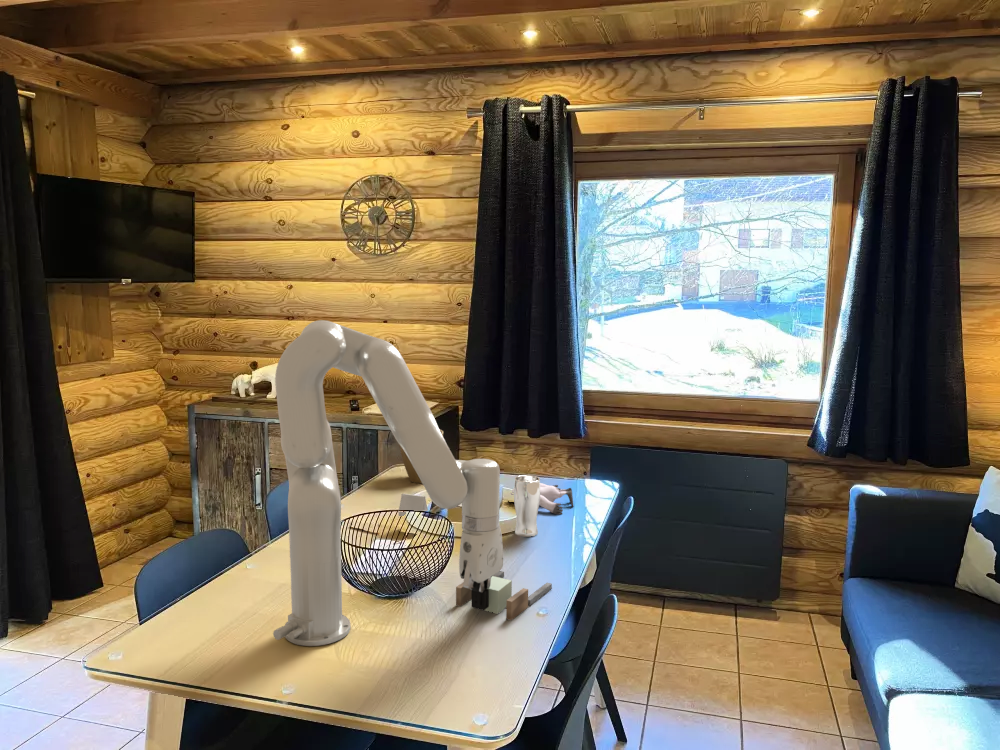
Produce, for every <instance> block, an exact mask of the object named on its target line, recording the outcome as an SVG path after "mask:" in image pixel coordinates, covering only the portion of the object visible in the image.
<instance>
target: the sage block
mask: <svg viewBox="0 0 1000 750" xmlns="http://www.w3.org/2000/svg"><path fill="white" fill-rule="evenodd" d="M512 588H513V581H512V580H511V579H506V578H504V577H503V578H499V577H494V576H492V577H491V584H490V588H489V607H488V608H486V609H485V610H483V611H485V612H488V611H489V613H492V612H493V614H497V615H498V613H499V612H500V613H501V612H503V610H504V608H505V607H506V600H508V599H509V598H510V597H512V596H513V595H512V594H513V593H512V591H513V590H512ZM487 589H488V588H487ZM505 609H506V608H505ZM500 613H499V614H500Z"/></svg>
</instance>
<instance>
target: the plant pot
mask: <svg viewBox="0 0 1000 750" xmlns="http://www.w3.org/2000/svg"><path fill="white" fill-rule="evenodd" d="M439 430H440V432H441V434H442V436H443V437H444V430H442V429H440V428H439ZM398 445H399V450H400V456H401V458H402V462H403V465H404V469H405V471H406V474H407V477H408V479H409V481H410V482H412V483H416V484H423V483H422V482H421V480H420V478H419V476H418V474H417V472H416V471H415V469H414V467H413V465H412V463H411V462H410V460H409V458H408V456H407V455H406V453H405V452H404V450H403V449H402V447H401V446H400V444H399V443H398Z"/></svg>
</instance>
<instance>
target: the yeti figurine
mask: <svg viewBox="0 0 1000 750" xmlns="http://www.w3.org/2000/svg"><path fill="white" fill-rule="evenodd" d="M511 491H512V493H514V492H513V491H514V488H512V490H511ZM509 493H510V492H509ZM512 493H510V494H511V495H514V494H512ZM564 495H566V496H567V497H568V500H569V503H570V505H571V507H572V508H574V497H573V490H572V487H569V488H567V489H566V488H565V489H564V488H563V489H562V488H559V484H553V485H547V484H545V483H541V482H540V503H539V507H541V508H543V509H546V510H547V511H548V512H550V513H551V514H553V515H563V511H564V510H563V507H562V506H561V505H562V504H561V503H559V502H555V500H558V499H560V498H562V497H563V496H564Z"/></svg>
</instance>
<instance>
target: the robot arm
mask: <svg viewBox="0 0 1000 750" xmlns="http://www.w3.org/2000/svg"><path fill="white" fill-rule="evenodd" d="M332 368H334V369H337V370H340V371H343V372H347V373H349V374H352V375H355V376H357V377H358V376H359V377H361V378H362V379H363V382H364V384H365V385H366V388H367V389H368V391H369V394H370V395H371V396H372V398H373V401H374V402H375V404H376V405H377V407H378V409H379V411H380V413H381V415H382V417H383V418H384V420H385V422H386V424H387V425H388V427H389V430H390V431H391V433H392V435H393V436H394V439H395V440H396V442H397V443H398V445H399V444H400V446H401V447H402V449H403V450H404V452H405V453H406V455H407V456H408V458H409V460H410V462H411V463H412V465H413V467H414V469H415V471H416V472H417V474H418V476H419V478H420V480H421V482H422V483H421V484H422V486H423V487H424V489H425V491H426V493H427V494H428V497H429V499H430V500H431V501H432V503H433V504H434V505H435V506H437V507H439V508H441V509H445V510H450V509H451V510H452V509H456V508H458V507H459V506H460V505H461V530H462V532H461V537H460V544H459V559H458V562H459V563H458V564H459V566H458V570H459V577H460V578H461V579H463V582H464V583H463V582H462V583H463V587H464V588H468V589H470V590H471V600H470V601H471V602H470V603H471V605H470V606H471V608H473V609H477V610H480V611H484V610H485V609H486V608H488V607H489V588H490V584H491V577H492V576H493V575H494V574H496V573H497V572H499V571H501V570H502V569H503V567H504V548H503V547H504V546H503V545H504V544H503V535H502V529H501V524H500V490H501V489H500V488H501V487H500V484H501V483H500V479H501V478H500V477H501V475H500V473H501V470H500V465H499V463H497V462H496V461H495V460H493V459H488V458H473V459H470V460H464V459H463V460H462V459H456V458H455V456H454V455H453V453H452V451H451V450H450V449H451V448H450V447H449V445H448V444H447V442H446V439H445V438H444V435H443V436H442V434H441V432H440V430H441V429H440V428H439V425H438V423H437V420H436V419H435V416H434V414H433V412H432V410H431V408H430V406H429V404H428V403H427V401H426V399H425V397H424V395H423V393H422V391H421V390H420V387H419V386H418V384H417V382H416V381H415V378H414V376H413V375H412V372H411V371H410V369H409V367H408V365H407V363H406V361H405V359H404V357H403V356H402V354H401V352H400V351H399V350H398V349H397V348H396V346H394V345H393V344H392V343H390V342H389V341H387V340H385V339H382V338H378V337H375V336H372V335H370V334H366V333H363V332H361V331H357V330H355V329H352V328H350V327H348V326H344V325H341V324H338V323H336V322H333V321H330V320H323V319H321V320H314V321H311V323H309V324H307V325H306V326H305V327H304V328H303V329H302V331H301V333H300V335H299V336H297V337H296V338H295V339H294V340H293V341H292V342H290V344H288V346H287V347H286V348H285V349H284V351H283V352H282V354H281V356H280V357H279V360H278V362H277V366H276V369H275V376H274V379H275V380H274V382H275V383H274V385H275V395H276V403H277V415H278V420H279V427H280V446H281V450H282V452H283V454H284V458H285V465H286V466H285V467H286V472H287V473H286V474H287V477H288V486H289V487H288V496H287V517H288V532H289V533H288V534H289V535H288V536H289V538H288V540H289V560H290V561H289V562H290V563H289V565H290V589H291V591H290V593H291V594H290V595H291V613H289V614H288V615H287V622H285V623H284V625H283V626H280V627H279V628H276V629H275V630H273V631H272V632H273V633H272V634H273V637H274V639H275V640H277V641H279V640H282V639H284V638H285V639H286V640H287V641H289V642H290V643H292V644H295V645H298V646H303V647H304V646H305V647H318V646H324V645H328V644H332V643H335V642H337V641H340V640H342V639H344V638H345V637H346V636H347V635H349V633H350V631H351V621H350V619H349V618H348V617H347V616H345V615H344V614H343V599H342V598H343V594H342V593H343V591H342V590H343V589H342V588H343V587H342V586H343V584H342V581H343V580H342V551H341V550H342V546H341V545H342V543H341V542H342V541H341V539H342V538H341V536H342V535H341V534H342V533H341V529H342V528H341V520H342V518H341V517H342V511H341V510H342V501H341V498H342V497H341V490H340V486H339V480H338V474H337V467H336V459H335V451H334V445H333V444H334V443H333V438H332V437H333V435H332V430H331V425H330V422H329V420H328V418H327V410H326V406H325V404H326V403H325V394H324V385H323V384H324V380H325V376H326V374H327V373H328V372H329V371H330V370H331V369H332ZM439 429H440V430H439ZM487 588H488V589H487Z"/></svg>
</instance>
